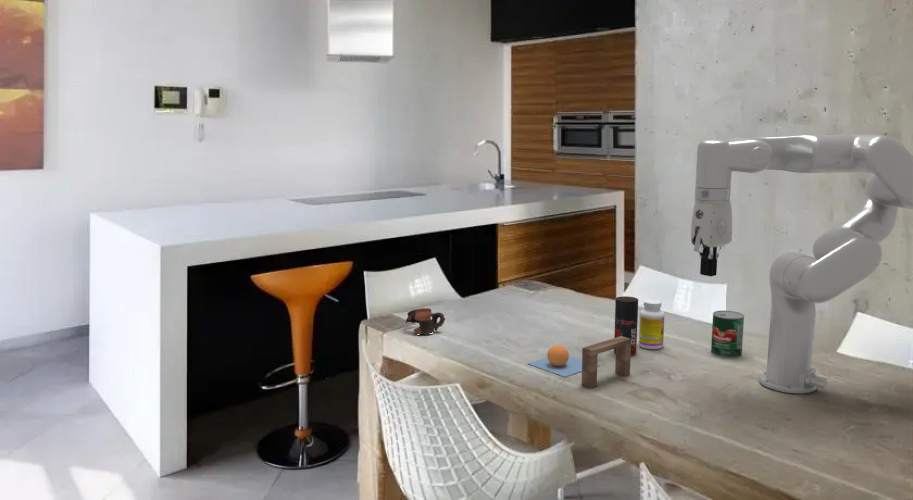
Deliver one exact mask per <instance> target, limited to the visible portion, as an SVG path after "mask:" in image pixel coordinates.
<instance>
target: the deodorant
mask: <svg viewBox="0 0 913 500" xmlns="http://www.w3.org/2000/svg"><path fill="white" fill-rule="evenodd" d="M614 308H615V309H614V310H615V311H614V335H613V337H614V338H617V337H620V336H623V337H627V338H630V339H631V357H634V356H636V355H637V347H638V342H637V341H638V318H639V299H638V298H637V297H633V296H617V297H615V305H614ZM613 354H614V355H616V348H615V349H613Z"/></svg>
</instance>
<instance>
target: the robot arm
mask: <svg viewBox="0 0 913 500" xmlns="http://www.w3.org/2000/svg"><path fill="white" fill-rule="evenodd" d="M695 166H696V167H695V168H696V170H695V187H694V188H695V190H694V206H693V210H692V218H691V225H690V227H691V228H690V243H691V245H693V246H694V247H693V252H696V253H699V255H698V256H699V258H700V269H699V270H700V271H699V273H700V275H701V276H707V277H715V276H716V275H717V271H718V270H717V269H718V268H717V267H718V258H719V257H720V256H719V255H720V252H721V250H722V249H723V248H724V247H725V246H726V245H728V244H730V243H731V242H732V239H733V213H732V212H733V211H732V202H731V191H732V173H733V172H738V173H747V174H758V173H760V172H763V171H765V170H767V171H768V170H772V171H773V170H775V171H785V172H789V173H790V172H791V173H798V174H801V173H802V174H803V173H804V174H823V173H824V174H825V173H827V174H828V173H866V174H871V175H870V176H869V178H868V179H867V181H866V184H865V191H864V198H863V202H862V204H861V206H860V208H859V209H858V210H857V211H856V212H855V213H854V214H852V215H850V216H849V217H848V218H846V219H844V220H842V221H841V222H840V223H838V224H836V225H834V226H833V227H832V228H830V229H829V230H827V231H826V232H825V231H824V232H823V233H822V234H821V235H819V236H818V237H817V238H816V240H815V241H814V243H813V245H812V254H813V256H810V255H807V254H804V253H800V252H794V251H793V252H786V253H783V254H781V255H779V256H777V257H776V258H775V260H774V261H773V262H772V264H771V265H770V269H769V287H770V299H771V300H770V303H771V304H770V305H771V307H770V319H769V332H768V333H769V334H768V345H767V346H768V347H767V361H766V372H762V373H761V374H759V376H758V381H759V384H761V385H762V386H764V387H766V388H768V389H770V390H774V391H777V392H780V393H787V394H788V393H789V394H808V393H813V392H815V391H816V390H817V389H818V388H820V389H824V390H825V389H826V388H827V387H828V380H827V377H823V376H818V375H817V374H816V370H817V369H816V368H814V367H812V362H813V351H814V340H815V339H814V337H815V326H816V316H817V315H816V313H817V312H816V311H817V310H816V304H823V303H826V302H829V301H831V300H833V299H835V298H837V297H838V296H839V295H842V294H843V293H845V292H847V290H850V289H851V288H853V287H854V286H856V285H857V284H859V283H860V282H863V280H865V279H866V278H868V277H869V276H871V275H872V274H873V273H874V272H875V271H876V270H877V268H878V267H879V265H880V264H881V261H882V256H883V251H882V247H881V244H880V243H881V242H883V241H884V240H885V239H887V238H888V237H889V236H890V235H891V234H892V232H893V230H894V227H895V225H896V221H897V216H898V209H899V208H901V209H902V208H903V209H907V210H913V154H912V153H911V152H910V151H908V150H907V148H905V146H904V145H902V143H901V142H899V141H898V140H896V139H895V138H893V137H891V136H889V135H885V134H865V133H863V134H862V133H861V134H856V133H855V134H853V133H852V134H850V133H849V134H807V135H805V134H804V135H802V134H801V135H800V134H799V135H793V136H791V135H789V136H778V137H776V136H773V137H771V136H769V137H765V136H763V137H734V138H731V139H729V140H727V139H704V140H701V141H699V143H698V144H697V149H696V165H695Z"/></svg>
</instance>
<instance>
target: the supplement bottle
mask: <svg viewBox="0 0 913 500" xmlns="http://www.w3.org/2000/svg"><path fill="white" fill-rule="evenodd" d="M643 307H644V308H643V309H641V310H640V311H639V324H638V326H639V327H638V331H639V332H638V345H639V347H641V348H643V349H646V350H659V349H662V348H663V347H664V336H665V335H664V333H665V312H664V311H663V310H661V307H662V301H661V300H657V299H645V300H643Z"/></svg>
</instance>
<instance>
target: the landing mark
mask: <svg viewBox="0 0 913 500" xmlns="http://www.w3.org/2000/svg"><path fill="white" fill-rule="evenodd" d="M529 364H530V365H529ZM527 365H529V366H532V367H534V368H535V367H536V368H537V367H538V369H540V368H541V369H540V370H543V371H547V372H550V373H551V372H552V373H551V374H555V375H557V374H558V376H560V377H563V378H567V377H570V376H573V374H574V375H576V374H579V373H582V358H578V357H575V356H572V355H570V354H569V359H568V361H567V363H566V364H565V365H563V366H560V367H557V366H554V365H552V364H551V363H550V362H549V360H548V357H545V358H541V359H537V360H534V361H531V362H528V363H527ZM599 367H600V364H597V368H599Z"/></svg>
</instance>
